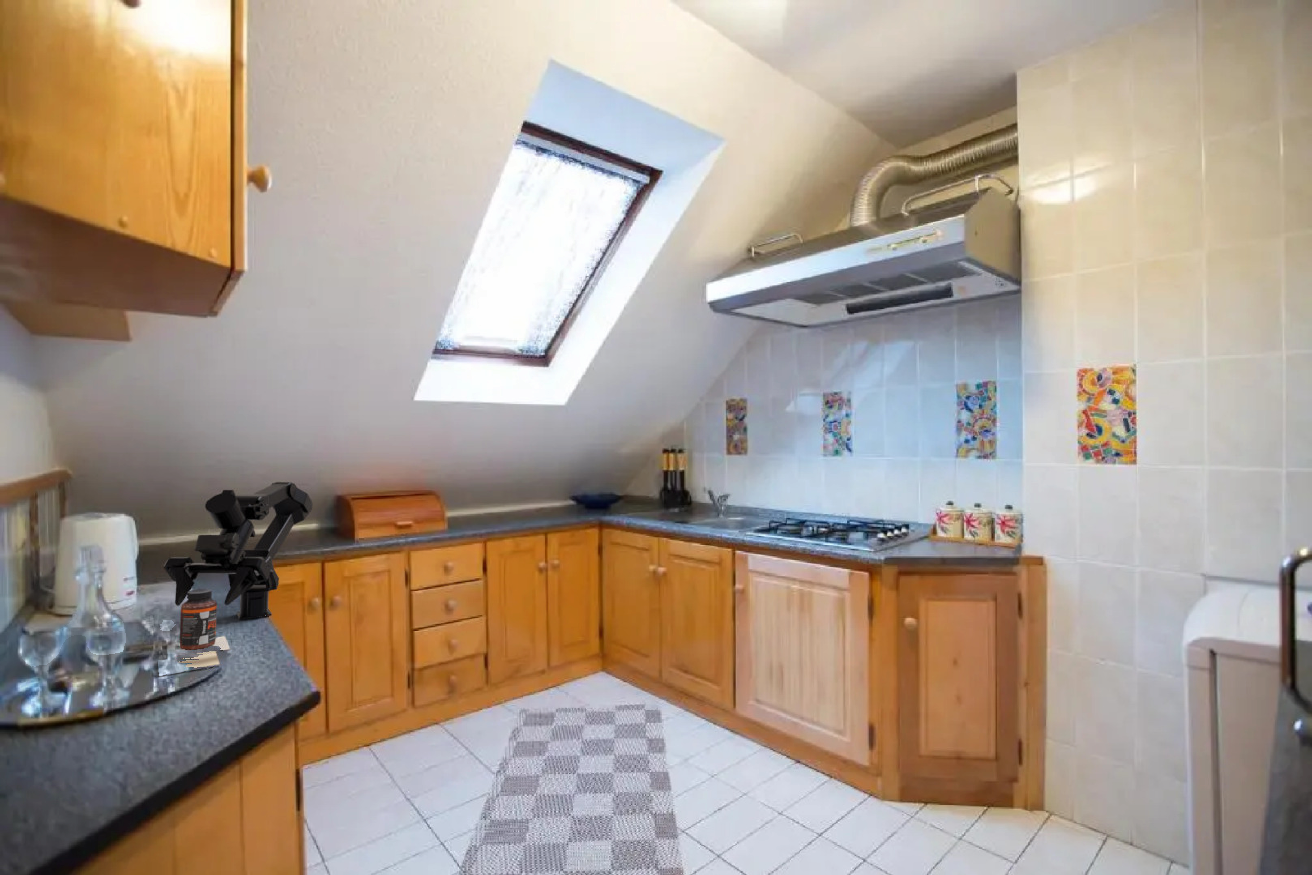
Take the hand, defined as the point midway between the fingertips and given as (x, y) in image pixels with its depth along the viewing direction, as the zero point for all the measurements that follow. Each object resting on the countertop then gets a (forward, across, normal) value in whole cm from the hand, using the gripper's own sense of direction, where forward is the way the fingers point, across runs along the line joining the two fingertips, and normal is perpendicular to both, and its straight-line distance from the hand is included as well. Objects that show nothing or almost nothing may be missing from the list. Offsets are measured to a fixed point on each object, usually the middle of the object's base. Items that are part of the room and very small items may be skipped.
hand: (201, 604), depth 129 cm
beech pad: (+14, +4, -2) cm, 14 cm away
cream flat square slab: (+7, 0, +5) cm, 8 cm away
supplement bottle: (+7, 0, +5) cm, 9 cm away
